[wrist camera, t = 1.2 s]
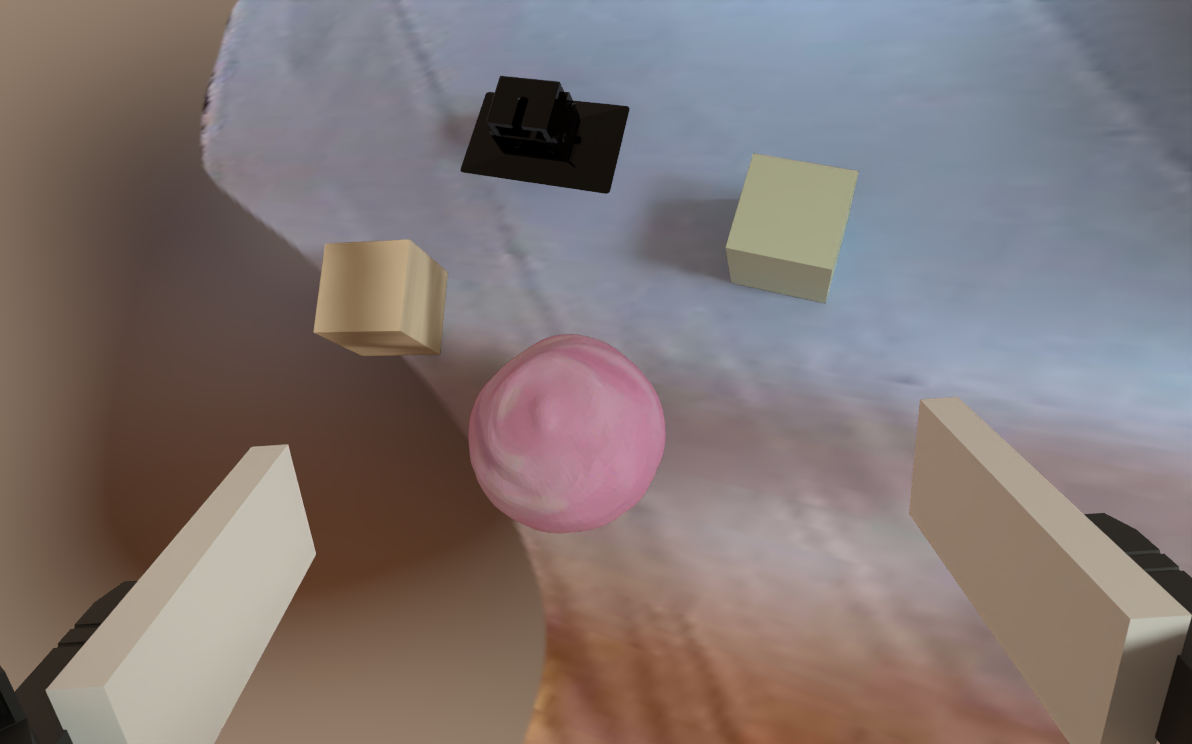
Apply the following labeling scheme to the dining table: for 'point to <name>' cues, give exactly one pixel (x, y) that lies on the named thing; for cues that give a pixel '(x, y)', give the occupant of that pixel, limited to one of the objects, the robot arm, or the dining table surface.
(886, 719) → the dining table surface
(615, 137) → the black piece
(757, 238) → the sage block
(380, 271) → the birch block
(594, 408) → the cupcake
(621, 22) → the dining table surface
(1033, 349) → the dining table surface
